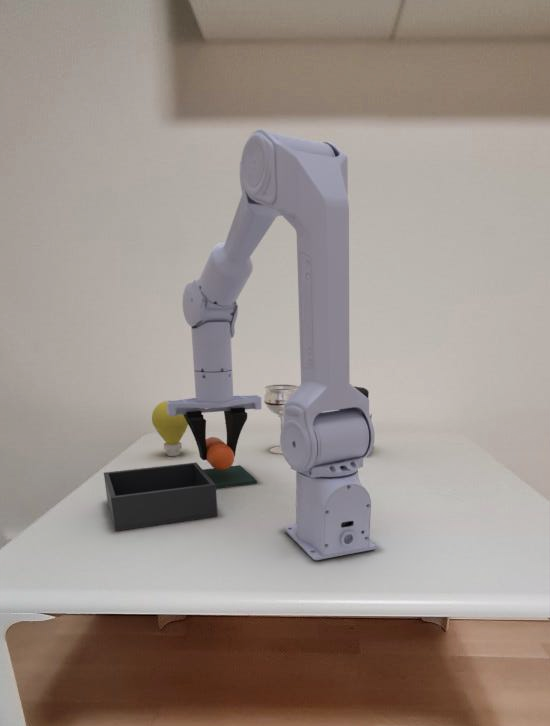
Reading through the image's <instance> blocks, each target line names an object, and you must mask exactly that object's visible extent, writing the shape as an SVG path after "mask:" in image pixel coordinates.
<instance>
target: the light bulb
mask: <svg viewBox="0 0 550 726" xmlns="http://www.w3.org/2000/svg"><path fill="white" fill-rule="evenodd" d="M166 401H167V400H165V401H164V400H163V401H161V402H159V403H158V404H157V405H156V406H155V407H154V409H153V411H152V414H151V421H152V422H151V423H152V425H153V427H154V428H155V430H156V432H157V433H158V434H159V436H160V437H161V438H162V440H163V441H164V443H163V450H164V451H166V456H168V457H178V456H180V455H181V451H180V450H182V449H183V446H182V445H183V444H182V442H180V441H181V439H182V438H183V436H184V434H185V432H186V431H187V428H188V427H189V425H188V423H187V421H186V419H185V417H184V415H183V414H180V415H176V416H169V415H168V414H167V406H166Z"/></svg>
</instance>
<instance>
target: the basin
mask: <svg viewBox="0 0 550 726" xmlns="http://www.w3.org/2000/svg"><path fill="white" fill-rule="evenodd" d="M103 478H104V486H105V493H106V501H107V506H108V509H109V513H110V518H111V521H112V524H113V528H114V531H115V532H120V531H128V530H133V529H140V528H148V527H154V526H161V525H168V524H174V523H175V524H176V523H181V522H187V521H194V520H201V519H209V518H214V517H218V501H217V499H218V498H217V488H216V485H215V484H214V482H213V481H212V480H211V479H210V478H209V477H208V475H207V474H206V473H205V472H204V471H203V468H202V467H201V466H200V465H199V464H198V462H188V463H179V464H169V465H160V466H152V467H151V466H150V467H142V468H141V467H140V468H133V469H132V468H131V469H124V470H113V471H105V472H103Z"/></svg>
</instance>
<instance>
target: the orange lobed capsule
mask: <svg viewBox="0 0 550 726" xmlns="http://www.w3.org/2000/svg"><path fill="white" fill-rule="evenodd" d="M206 448H207V460H206V461H207V463H208V464H210V466H211V467H212V468H215V469H218V470H226V469H228V468H229V467H230V466H233V464H234V463H235V457H234V453H233V451H232V449H231V448H230V447H229V446H227V443H226V442H224V441H223V440H222V439H220V438H219V437H216V436H210V437H208V438H207V437H206Z"/></svg>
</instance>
